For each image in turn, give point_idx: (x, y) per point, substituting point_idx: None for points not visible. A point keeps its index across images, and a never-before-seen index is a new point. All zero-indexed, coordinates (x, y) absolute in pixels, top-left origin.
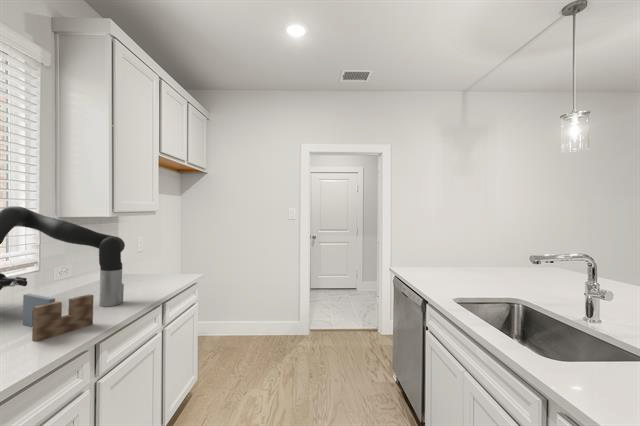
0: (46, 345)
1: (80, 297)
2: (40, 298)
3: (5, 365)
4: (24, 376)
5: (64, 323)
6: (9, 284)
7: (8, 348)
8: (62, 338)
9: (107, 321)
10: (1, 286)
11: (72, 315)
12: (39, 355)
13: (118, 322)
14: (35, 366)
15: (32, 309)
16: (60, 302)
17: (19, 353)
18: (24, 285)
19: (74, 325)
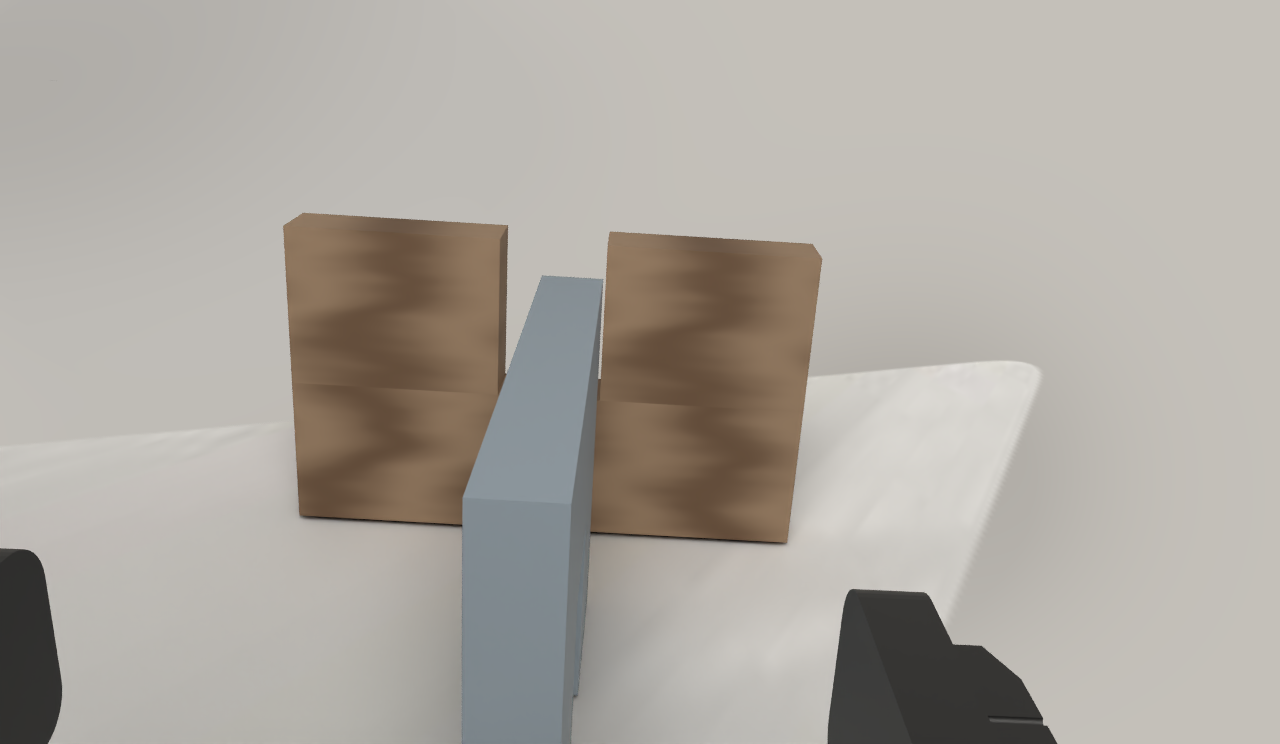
0: None
1: (423, 223)
2: (595, 334)
3: (1017, 437)
4: (979, 362)
5: None
6: None
7: (951, 556)
8: None
9: (206, 473)
10: (841, 636)
11: (504, 373)
12: (860, 419)
13: (224, 427)
14: (919, 378)
15: (579, 575)
16: (622, 232)
17: (924, 478)
18: (54, 700)
19: None
